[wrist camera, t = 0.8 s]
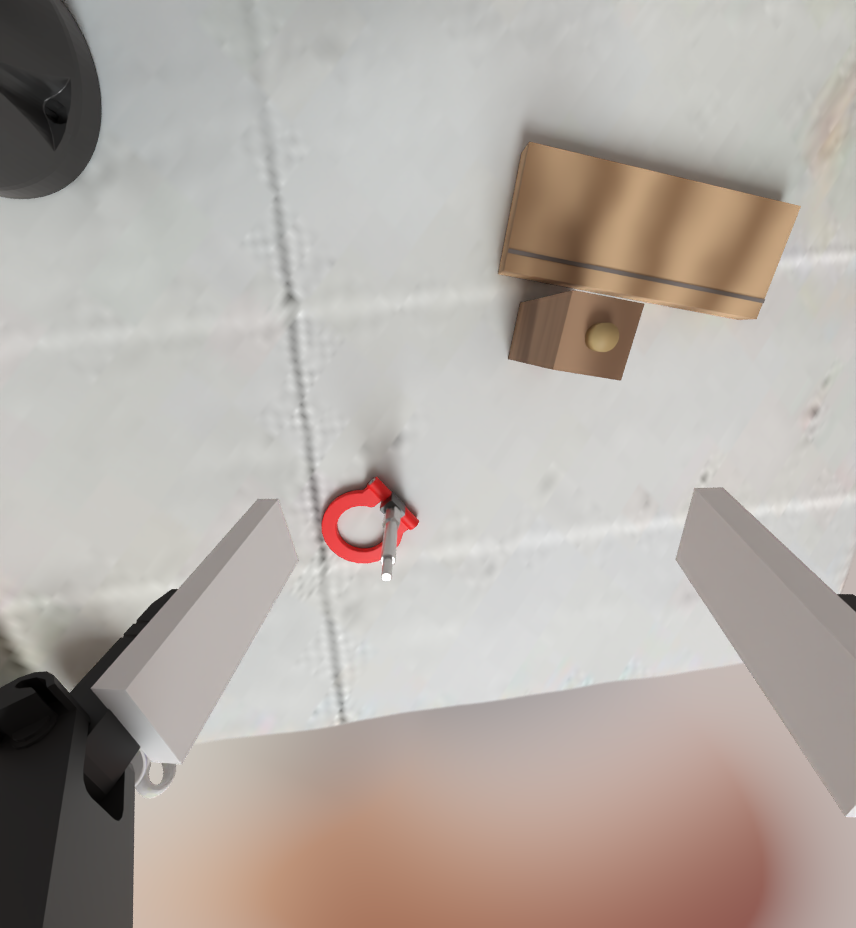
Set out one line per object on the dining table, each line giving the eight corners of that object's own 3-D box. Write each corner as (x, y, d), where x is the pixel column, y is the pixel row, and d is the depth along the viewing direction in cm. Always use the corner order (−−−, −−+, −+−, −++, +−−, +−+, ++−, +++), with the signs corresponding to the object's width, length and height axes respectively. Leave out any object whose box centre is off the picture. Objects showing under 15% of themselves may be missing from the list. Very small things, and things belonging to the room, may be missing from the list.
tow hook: (361, 570, 43) (425, 522, 42) (342, 667, 31) (431, 606, 29) (307, 520, 41) (372, 467, 39) (263, 604, 29) (354, 533, 27)
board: (498, 274, 34) (504, 270, 32) (521, 153, 31) (530, 141, 29) (737, 319, 37) (757, 319, 35) (778, 213, 34) (802, 205, 32)
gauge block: (508, 359, 37) (558, 370, 25) (520, 302, 35) (580, 288, 24) (557, 367, 37) (628, 382, 26) (571, 312, 36) (654, 302, 24)
